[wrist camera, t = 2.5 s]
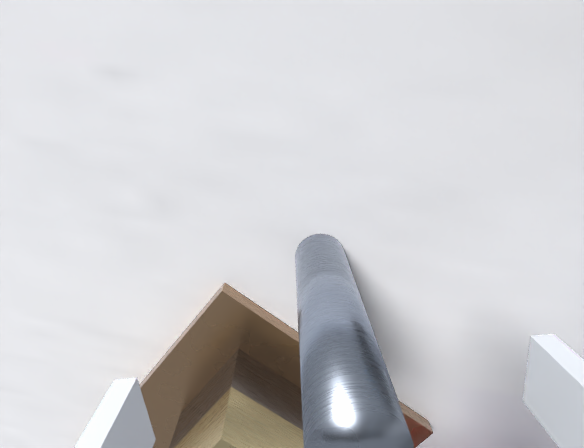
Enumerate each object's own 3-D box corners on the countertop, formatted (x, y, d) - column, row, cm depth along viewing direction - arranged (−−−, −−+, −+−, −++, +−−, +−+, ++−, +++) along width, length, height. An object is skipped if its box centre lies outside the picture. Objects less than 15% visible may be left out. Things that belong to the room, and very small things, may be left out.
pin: (316, 224, 22) (354, 393, 9) (354, 253, 22) (436, 447, 10) (285, 260, 22) (281, 460, 10) (322, 288, 23) (362, 506, 11)
